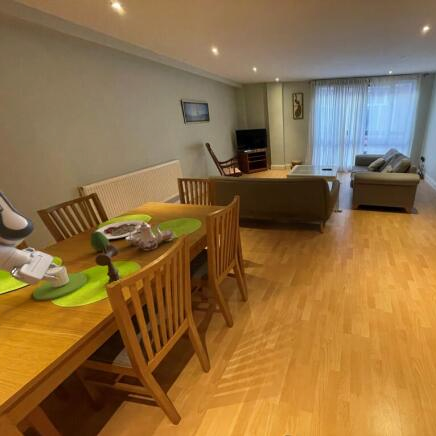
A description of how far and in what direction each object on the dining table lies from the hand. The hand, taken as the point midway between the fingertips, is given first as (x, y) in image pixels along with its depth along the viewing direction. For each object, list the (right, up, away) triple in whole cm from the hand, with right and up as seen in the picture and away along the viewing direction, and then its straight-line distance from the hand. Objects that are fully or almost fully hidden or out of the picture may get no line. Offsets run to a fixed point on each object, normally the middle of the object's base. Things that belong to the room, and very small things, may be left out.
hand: (58, 274), depth 106 cm
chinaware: (+19, +9, +38) cm, 43 cm away
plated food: (-12, +16, +56) cm, 60 cm away
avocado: (-6, +6, +32) cm, 33 cm away
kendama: (+21, -4, +5) cm, 22 cm away
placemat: (0, -6, +2) cm, 6 cm away
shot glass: (0, -4, +1) cm, 5 cm away
